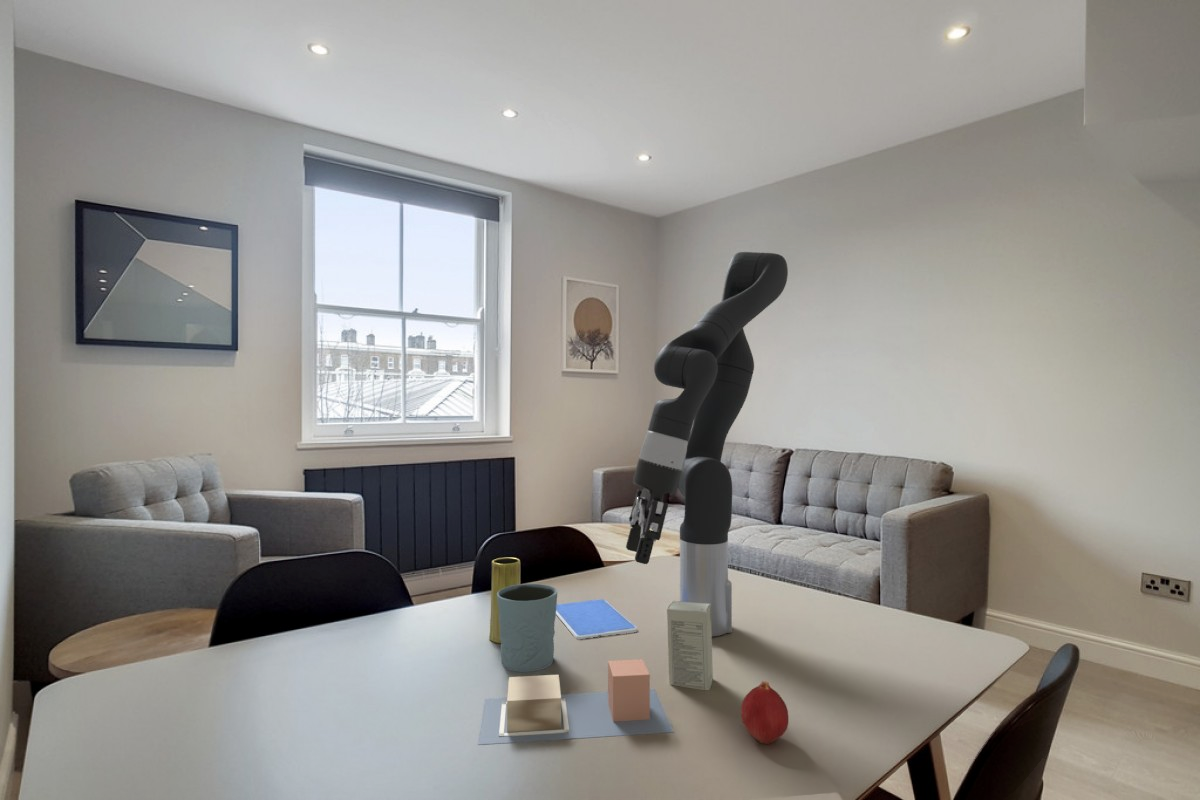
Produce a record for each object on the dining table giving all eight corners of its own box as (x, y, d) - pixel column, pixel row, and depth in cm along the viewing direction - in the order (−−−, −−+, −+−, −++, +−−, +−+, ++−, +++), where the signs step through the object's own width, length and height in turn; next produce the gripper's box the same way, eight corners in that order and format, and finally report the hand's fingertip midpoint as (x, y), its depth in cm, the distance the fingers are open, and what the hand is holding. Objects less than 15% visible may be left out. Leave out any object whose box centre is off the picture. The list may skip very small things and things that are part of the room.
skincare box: (713, 682, 93) (713, 603, 93) (709, 694, 89) (708, 612, 89) (672, 676, 95) (672, 599, 95) (666, 688, 91) (666, 607, 91)
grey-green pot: (507, 681, 93) (508, 604, 94) (488, 658, 102) (488, 587, 103) (567, 669, 98) (567, 595, 98) (543, 647, 107) (544, 579, 107)
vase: (525, 632, 114) (525, 557, 115) (518, 644, 108) (518, 565, 109) (494, 631, 115) (494, 556, 115) (485, 643, 109) (485, 564, 109)
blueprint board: (654, 693, 89) (654, 688, 89) (674, 736, 78) (674, 731, 78) (485, 702, 87) (485, 698, 87) (477, 749, 75) (477, 743, 75)
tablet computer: (639, 634, 115) (639, 627, 115) (576, 643, 110) (576, 636, 110) (604, 604, 133) (604, 598, 133) (549, 610, 128) (549, 604, 128)
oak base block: (558, 702, 85) (558, 674, 85) (561, 728, 78) (561, 697, 78) (508, 705, 84) (508, 677, 85) (507, 732, 78) (507, 700, 78)
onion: (735, 732, 78) (735, 671, 79) (778, 730, 79) (777, 669, 79) (750, 758, 73) (749, 691, 73) (796, 756, 73) (795, 690, 73)
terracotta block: (642, 701, 86) (642, 659, 86) (649, 719, 81) (649, 674, 81) (608, 703, 85) (608, 661, 85) (613, 721, 80) (612, 676, 80)
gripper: (693, 472, 94) (667, 573, 93) (671, 464, 108) (648, 551, 107) (648, 459, 93) (621, 561, 92) (632, 453, 107) (608, 541, 106)
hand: (636, 556), depth 100 cm, fingers open, 8 cm apart
